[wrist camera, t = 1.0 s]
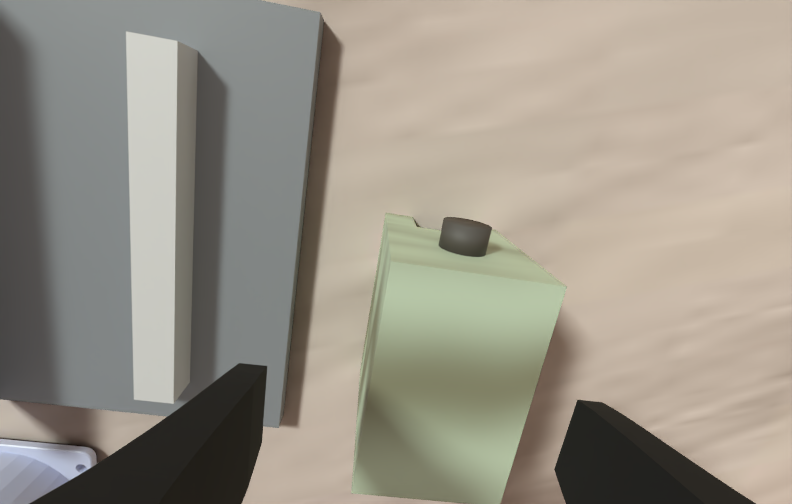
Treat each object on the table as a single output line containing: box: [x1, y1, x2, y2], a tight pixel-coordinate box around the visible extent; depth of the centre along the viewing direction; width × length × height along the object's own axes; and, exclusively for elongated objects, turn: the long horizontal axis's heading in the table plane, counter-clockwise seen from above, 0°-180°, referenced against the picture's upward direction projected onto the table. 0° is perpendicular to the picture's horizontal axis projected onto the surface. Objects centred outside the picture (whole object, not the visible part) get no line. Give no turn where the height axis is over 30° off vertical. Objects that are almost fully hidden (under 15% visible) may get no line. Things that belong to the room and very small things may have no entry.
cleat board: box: [0, 0, 324, 428], centre depth 14 cm, size 18×14×5 cm
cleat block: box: [352, 213, 567, 504], centre depth 15 cm, size 9×5×7 cm, turn 171°
